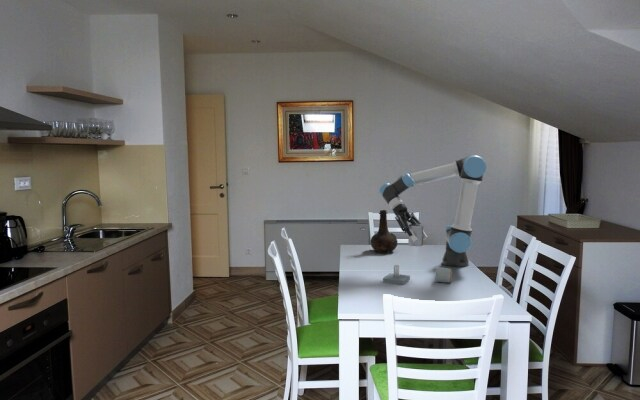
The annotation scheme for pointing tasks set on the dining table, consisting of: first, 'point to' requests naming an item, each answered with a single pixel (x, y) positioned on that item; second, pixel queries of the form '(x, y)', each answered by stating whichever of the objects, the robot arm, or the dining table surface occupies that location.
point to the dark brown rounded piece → (383, 236)
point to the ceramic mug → (443, 275)
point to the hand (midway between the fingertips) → (420, 239)
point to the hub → (418, 233)
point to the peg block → (396, 277)
